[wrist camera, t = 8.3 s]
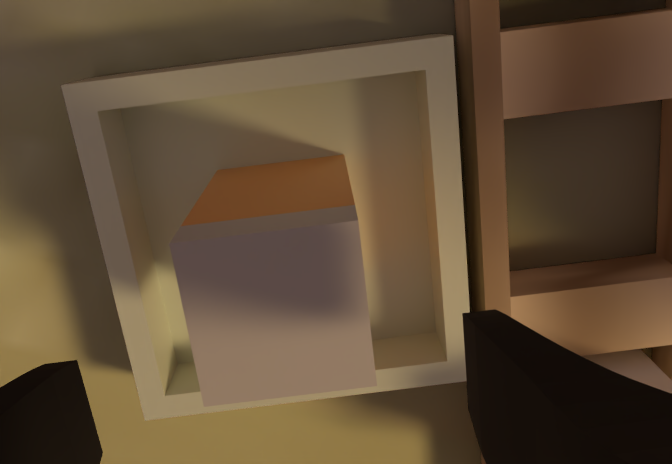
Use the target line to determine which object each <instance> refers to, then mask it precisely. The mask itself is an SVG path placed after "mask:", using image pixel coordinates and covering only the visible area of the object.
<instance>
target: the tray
mask: <svg viewBox="0 0 672 464" xmlns="http://www.w3.org/2000/svg"><path fill="white" fill-rule="evenodd" d="M61 88H62V92H63V96H64V100H65V104H66V108H67V112H68V116H69V120H70V124H71V128H72V132H73V136H74V140H75V144H76V148H77V152H78V156H79V160H80V164H81V168H82V172H83V176H84V180H85V184H86V188H87V192H88V196H89V200H90V203H91V207H92V211H93V215H94V219H95V223H96V227H97V231H98V235H99V239H100V243H101V247H102V251H103V255H104V259H105V263H106V267H107V271H108V275H109V279H110V283H111V287H112V291H113V295H114V299H115V303H116V307H117V311H118V315H119V319H120V323H121V327H122V331H123V335H124V339H125V343H126V347H127V351H128V355H129V359H130V363H131V367H132V371H133V375H134V379H135V383H136V387H137V391H138V395H139V399H140V403H141V407H142V410H143V414H144V418H145V421H146V420H154V419H162V418H170V417H179V416H187V415H195V414H203V413H211V412H219V411H228V410H236V409H244V408H252V407H260V406H268V405H277V404H285V403H293V402H301V401H309V400H317V399H326V398H334V397H342V396H350V395H358V394H366V393H375V392H383V391H391V390H399V389H407V388H415V387H424V386H432V385H440V384H448V383H456V382H464V381H467V379H466V364H465V348H464V332H463V316H462V313H469V312H470V306H469V289H468V273H467V256H466V240H465V223H464V207H463V190H462V174H461V157H460V141H459V124H458V107H457V91H456V74H455V58H454V41H453V35H445V34H429V35H421V36H413V37H405V38H398V39H390V40H382V41H374V42H366V43H358V44H350V45H343V46H335V47H327V48H319V49H311V50H303V51H295V52H287V53H280V54H272V55H264V56H256V57H248V58H240V59H232V60H224V61H217V62H209V63H201V64H193V65H185V66H177V67H169V68H162V69H154V70H146V71H138V72H130V73H122V74H114V75H106V76H99V77H91V78H87V79H83V80H79V81H75V82H71V83H67V84H63V85H61ZM343 154H344V156H345V161H346V166H347V170H348V175H349V180H350V184H351V189H352V193H353V198H354V203H355V207H356V212H357V216H358V222H359V231H360V239H361V248H362V257H363V266H364V275H365V284H366V292H367V301H368V310H369V319H370V328H371V337H372V346H373V354H374V363H375V372H376V381H377V386H373V387H365V388H356V389H348V390H340V391H332V392H323V393H315V394H307V395H299V396H290V397H282V398H274V399H265V400H257V401H249V402H241V403H232V404H224V405H216V406H207V407H204V405H203V400H202V395H201V391H200V386H199V381H198V377H197V372H196V367H195V363H194V358H193V353H192V349H191V344H190V339H189V335H188V330H187V325H186V320H185V316H184V311H183V306H182V302H181V297H180V292H179V288H178V283H177V278H176V274H175V269H174V264H173V260H172V255H171V250H170V245H169V243H170V242H171V240H172V239H173V237H174V235H175V234H176V232H177V231H178V229H179V228H180V226H181V225H182V223H183V222H184V220H185V219H186V217H187V216H188V214H189V213H190V211H191V210H192V208H193V206H194V205H195V203H196V202H197V200H198V199H199V197H200V196H201V194H202V193H203V191H204V190H205V188H206V187H207V185H208V184H209V182H210V181H211V179H212V177H213V176H214V174H215V173H216V171H217V170H222V169H230V168H238V167H246V166H254V165H262V164H270V163H278V162H286V161H294V160H303V159H311V158H319V157H327V156H335V155H343Z"/></svg>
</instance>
